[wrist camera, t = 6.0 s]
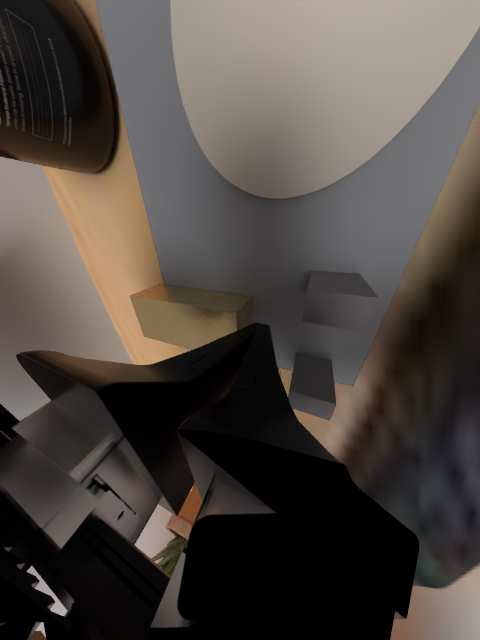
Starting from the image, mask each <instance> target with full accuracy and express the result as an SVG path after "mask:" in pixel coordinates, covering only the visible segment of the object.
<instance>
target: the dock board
mask: <svg viewBox="0 0 480 640" xmlns="http://www.w3.org/2000/svg"><path fill="white" fill-rule="evenodd" d="M95 3H96V7H97V11H98V15H99V19H100V23H101V28H102V32H103V36H104V40H105V44H106V48H107V52H108V56H109V60H110V64H111V68H112V73H113V77H114V81H115V85H116V89H117V93H118V97H119V101H120V105H121V109H122V113H123V118H124V122H125V126H126V130H127V134H128V138H129V142H130V146H131V150H132V154H133V158H134V163H135V167H136V171H137V175H138V179H139V183H140V187H141V191H142V195H143V199H144V203H145V208H146V212H147V216H148V220H149V224H150V228H151V232H152V236H153V240H154V244H155V248H156V252H157V257H158V261H159V265H160V269H161V273H162V277H163V281H164V285H171V286H179V287H187V288H195V289H203V290H212V291H220V292H228V293H236V294H244V295H253V299H252V324H253V323H261V324H267V325H270V329H271V335H272V340H273V346H274V351H275V357H276V361H277V367H279V368H283V369H287V370H291V371H293V373H292V379H291V384H290V390H289V396H288V399H289V402H290V404H291V407H292V408H293V409H296V410H299V411H302V412H305V413H309V414H312V415H315V416H318V417H321V418H324V419H327V420H330V419H331V416H332V414H333V411H334V409H335V406H336V397H335V387H334V382H337V383H341V384H345V385H349V386H354V384H355V382H356V379H357V377H358V375H359V373H360V370H361V368H362V366H363V364H364V361H365V359H366V357H367V355H368V352H369V350H370V348H371V346H372V343H373V341H374V339H375V337H376V334H377V332H378V330H379V328H380V325H381V323H382V321H383V319H384V316H385V314H386V312H387V310H388V307H389V305H390V303H391V301H392V298H393V296H394V294H395V292H396V289H397V287H398V285H399V283H400V280H401V278H402V276H403V274H404V271H405V269H406V267H407V265H408V262H409V260H410V258H411V256H412V253H413V251H414V249H415V247H416V244H417V242H418V240H419V238H420V235H421V233H422V231H423V229H424V227H425V224H426V222H427V220H428V218H429V215H430V213H431V211H432V209H433V206H434V204H435V202H436V200H437V197H438V195H439V193H440V191H441V188H442V186H443V184H444V182H445V179H446V177H447V175H448V173H449V170H450V168H451V166H452V164H453V161H454V159H455V157H456V155H457V152H458V150H459V148H460V146H461V143H462V141H463V139H464V137H465V134H466V132H467V130H468V128H469V125H470V123H471V121H472V119H473V116H474V114H475V112H476V110H477V107H478V105H479V103H480V0H95Z"/></svg>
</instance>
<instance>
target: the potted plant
mask: <svg viewBox="0 0 480 640" xmlns="http://www.w3.org/2000/svg"><path fill="white" fill-rule="evenodd" d="M201 505H202V500H201V497H200V494H199V491H198V489H197V486H196V485H195V487H194V488H193V490H192V491H191V492H190V494H189V495H188V497H187V498H186V500H185V502H184V504H183V506H182V508H181V510H180V512H179V514H178V516H175V515H172V516H171V518H170V520H169V522H168V524H167V526H166V528H167V530H169V531H170V532H171V533H172V534H173V535H174V536H175V538H174V539H173V540H171V541H170V542H169V543H168V544H167V545H168V546H167V547H166V548H164V549H163V550H162V551H161V552H160V553H159V554H157V555H156V556H155V557H153V558H152V559H151V560H152V561H155V560H158V559H160V558H162V557H164V558H163V559H162V560H161V561H160V562H159V563H158V564H157V565H158V566H159V567H161V568H162V569H163V570H164V571H165V572H166V573H168V574H169V575H170V576H171V577H172V574H173V572H174V569H175V567H176V565H177V562H178V560H179V557H180V555H181V553H182V551H183V549H184V547H186V548H187V545H188V539H189V534H190V531H191V529H192V526H193V524H194V521H195V519H196V516H197V514H198V512H199V509H200V507H201Z"/></svg>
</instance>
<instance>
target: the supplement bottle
mask: <svg viewBox="0 0 480 640" xmlns="http://www.w3.org/2000/svg"><path fill="white" fill-rule="evenodd" d="M114 132H115V119H114V107H113V100H112V94H111V89H110V84H109V80H108V76H107V73H106V69H105V66H104V63H103V60H102V57H101V54H100V52H99V49H98V47H97V44H96V42H95V40H94V37H93V35H92V33H91V31H90V29H89V27H88V25H87V23H86V21H85V20H84V18H83V16H82V14H81V13H80V11H79V9H78V8H77V6H76V5H75V3H74V2H73V0H0V157H5V158H10V159H15V160H19V161H24V162H29V163H34V164H39V165H43V166H48V167H53V168H58V169H64V170H68V171H73V172H78V173H87V174H89V173H94V172H97V171H98V170H100V169H101V168H102V167H103V166H104V165H105V164H106V163H107V161H108V159H109V157H110V154H111V151H112V148H113V142H114Z"/></svg>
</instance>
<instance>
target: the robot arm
mask: <svg viewBox="0 0 480 640" xmlns="http://www.w3.org/2000/svg"><path fill="white" fill-rule="evenodd" d="M16 357H17V359H18V361H19V363H20V364H21V366H22V367H23V368H24V369H25V371H26V372H27V373H28V374H29V375H30V376H31V378H32V379H33V380H34V381H35V382H36V383H37V384H38V386H39V387H40V388H41V389H42V390H43V391H44V392H45V394H46V395H47V396H48V397H49V398H50V399H51V401H50V402H48V403H47V404H46V405H44V406H42V407H41V408H39V409H38V410H36V411H35V412H33V413H32V414H30V415H29V416H27V417H26V418H24V419H23V420H21V421H19V420H18V419H16V418H15V417H14V416H13V415H12V414H11V413H10V412H9V411H8V410H7V409H5V408H4V407H3V406H2V405H1V404H0V640H390V637H391V631H392V625H393V621H394V619H406V618H407V614H408V609H409V603H410V598H411V592H412V587H413V581H414V575H415V570H416V564H417V559H418V553H419V541H418V538H417V537H416V535H415V534H414V533H413V532H412V531H410V530H409V529H408V528H407V527H405V526H404V525H403V524H402V523H401V522H399V521H398V520H397V519H396V518H394V517H393V516H392V515H391V514H390V513H388V512H387V511H386V510H385V509H384V508H382V507H381V506H380V505H379V504H377V503H376V502H375V501H374V500H373V499H371V498H370V497H369V496H368V495H366V494H365V493H364V492H363V491H362V490H360V489H359V488H358V487H357V485H356V484H355V483H354V482H353V481H352V479H351V477H350V475H349V472H348V470H347V467H346V466H345V465H344V464H343V463H341V462H340V461H338V460H337V459H336V458H335V457H334V456H333V455H332V454H330V453H329V452H328V451H327V450H326V449H325V448H324V446H323V445H322V444H321V443H320V442H319V441H318V440H317V439H316V438H315V437H314V436H313V435H312V434H311V433H310V432H309V431H308V430H307V429H306V428H305V427H304V426H303V425H302V424H301V423H300V422H299V421H298V419H297V417H296V416H295V414H294V411H293V409H292V407H291V404H290V402H289V399H288V396H287V394H286V391H285V389H284V386H283V383H282V381H281V378H280V375H279V371H278V367H277V361H276V357H275V351H274V346H273V340H272V335H271V329H270V325H267V324H261V323H253V324H251V325H248V326H246V327H244V328H242V329H239V330H237V331H235V332H233V333H230V334H228V335H226V336H224V337H221V338H219V339H217V340H214V341H212V342H210V343H209V344H205V345H203V346H201V347H198V348H196V349H194V350H191V351H188V352H186V353H183V354H180V355H177V356H174V357H172V358H169V359H166V360H163V361H160V362H157V363H154V364H150V365H133V364H125V363H117V362H109V361H100V360H93V359H85V358H78V357H73V356H68V355H65V354H63V353H60V352H56V351H42V350H37V351H27V352H21V353H18V354H17V355H16ZM194 482H195V483H196V486H197V489H198V491H199V494H200V497H201V500H202V505H201V507H200V509H199V512H198V514H197V516H196V519H195V521H194V524H193V526H192V529H191V531H190V534H189V539H188V545H187V548H186V547H184V549H183V551H182V553H181V555H180V557H179V560H178V562H177V565H176V567H175V569H174V572H173V574H172V577H171V576H170V575H169V574H168V573H166V572H165V571H164V570H163V569H162V568H161V567H159V566H158V565H157V564H156V563H155V562H154V561H152V560H151V559H150V558H149V557H148V556H146V555H145V554H144V553H143V552H142V551H141V550H139V549H138V548H137V547H136V546H135V543H136V541H137V539H138V538H139V536H140V534H141V532H142V530H143V529H144V527H145V526H146V524H147V522H148V520H149V519H150V517H151V515H152V513H153V512H154V510H155V508H156V506H157V505H158V504H159V505H161V506H162V507H164V508H165V509H167V510H168V511H170V512H171V513H172V514H174V515H175V516H178V514H179V512H180V510H181V508H182V506H183V504H184V502H185V500H186V498H187V496H188V494H189V492H190V490H191V488H192V486H193V484H194ZM31 566H33V567H34V568H35V570H36V571H37V572H38V574H39V575H40V576H41V577H42V579H43V580H44V581H45V582H46V584H47V585H48V586H49V588H50V589H51V590H52V591H53V593H54V594H55V595H56V596H57V598H58V599H59V600H60V602H61V603H62V604H63V605H64V607H65V608H66V609H67V613H66V614H65V616H61V615H59V614H56V613H54V612H51V611H50V608H51V607H52V606H53V604H54V603H55V601H54V599H53V598H52V597H51V596H50V595H47V594H45V593H43V592H41V591H38V590H36V589H34V588H35V587H36V585H37V584H38V583H39V580H38V579H37V578H36V576H34V575H32V574H30V573H28V572H26V571H27V570H28V569H29V568H30V567H31ZM41 622H44V628H45V633H46V638H45V637H44V635H43V634H42V632H41V631H35V630H36V629H37V627H38V626H39V624H40V623H41Z"/></svg>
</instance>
